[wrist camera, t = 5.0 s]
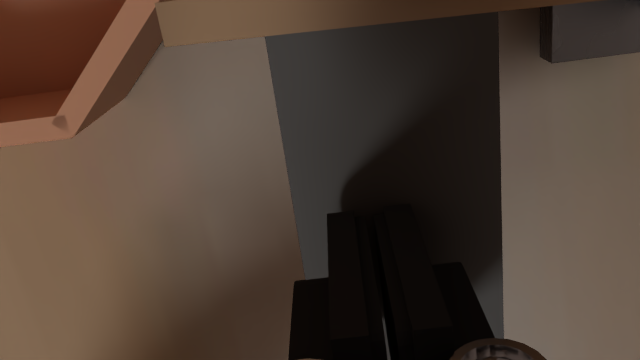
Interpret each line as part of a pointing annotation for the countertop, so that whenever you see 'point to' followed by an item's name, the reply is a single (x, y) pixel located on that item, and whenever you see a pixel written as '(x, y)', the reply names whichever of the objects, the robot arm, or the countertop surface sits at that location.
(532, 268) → the countertop surface
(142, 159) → the countertop surface
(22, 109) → the pink octagonal bowl
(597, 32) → the stand
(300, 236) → the trough
